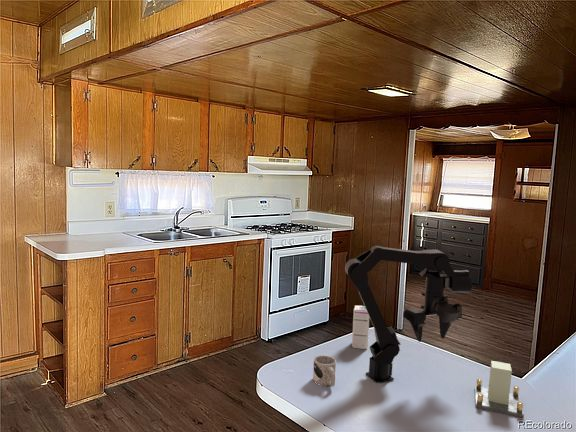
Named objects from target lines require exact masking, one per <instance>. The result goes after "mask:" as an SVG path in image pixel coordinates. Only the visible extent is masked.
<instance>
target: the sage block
mask: <svg viewBox="0 0 576 432" xmlns="http://www.w3.org/2000/svg"><path fill="white" fill-rule="evenodd" d="M512 372H513V370H512V367H511V363H506V362H502V361H496V360H495V361H494V360H490V369H489V380H488V387H487V388H488V397H489V401H491V402H496V403H501V404H506V405H508V403H509V394H510V393H511V383H512Z"/></svg>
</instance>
